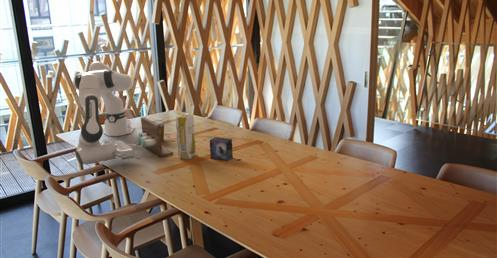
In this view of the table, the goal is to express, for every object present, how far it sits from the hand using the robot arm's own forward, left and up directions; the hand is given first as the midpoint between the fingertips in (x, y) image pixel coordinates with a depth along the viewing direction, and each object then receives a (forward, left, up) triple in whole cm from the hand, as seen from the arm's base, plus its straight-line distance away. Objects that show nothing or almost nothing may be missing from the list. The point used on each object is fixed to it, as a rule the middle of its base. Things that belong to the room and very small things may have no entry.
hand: (136, 145), depth 223 cm
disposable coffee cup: (-34, +1, -8) cm, 35 cm away
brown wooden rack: (-14, +7, -8) cm, 18 cm away
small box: (-3, +45, -8) cm, 46 cm away
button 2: (-5, +6, -2) cm, 8 cm away
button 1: (-18, 0, -2) cm, 18 cm away
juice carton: (-5, +26, -8) cm, 28 cm away
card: (-7, -10, -8) cm, 15 cm away
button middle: (-10, +1, -2) cm, 10 cm away
